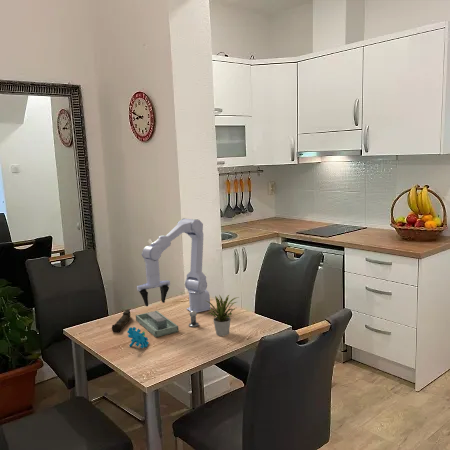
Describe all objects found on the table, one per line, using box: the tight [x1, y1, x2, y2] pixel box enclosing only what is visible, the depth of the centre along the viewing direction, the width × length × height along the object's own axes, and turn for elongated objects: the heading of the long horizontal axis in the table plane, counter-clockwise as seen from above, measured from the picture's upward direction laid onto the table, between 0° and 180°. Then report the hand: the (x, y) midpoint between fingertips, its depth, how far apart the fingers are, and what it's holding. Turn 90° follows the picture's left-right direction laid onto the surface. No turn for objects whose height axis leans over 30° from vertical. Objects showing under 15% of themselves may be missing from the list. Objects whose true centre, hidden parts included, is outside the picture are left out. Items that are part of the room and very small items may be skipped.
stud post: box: [188, 310, 200, 328], centre depth 197 cm, size 4×4×7 cm
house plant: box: [207, 294, 240, 337], centre depth 185 cm, size 14×14×16 cm
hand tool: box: [111, 309, 131, 334], centre depth 202 cm, size 19×4×5 cm, turn 172°
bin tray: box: [135, 310, 179, 338], centre depth 199 cm, size 10×24×2 cm, turn 30°
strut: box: [145, 310, 167, 330], centre depth 198 cm, size 4×14×4 cm, turn 30°
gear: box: [127, 326, 150, 349], centre depth 178 cm, size 11×6×10 cm
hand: (155, 304), depth 198 cm, fingers open, 7 cm apart
